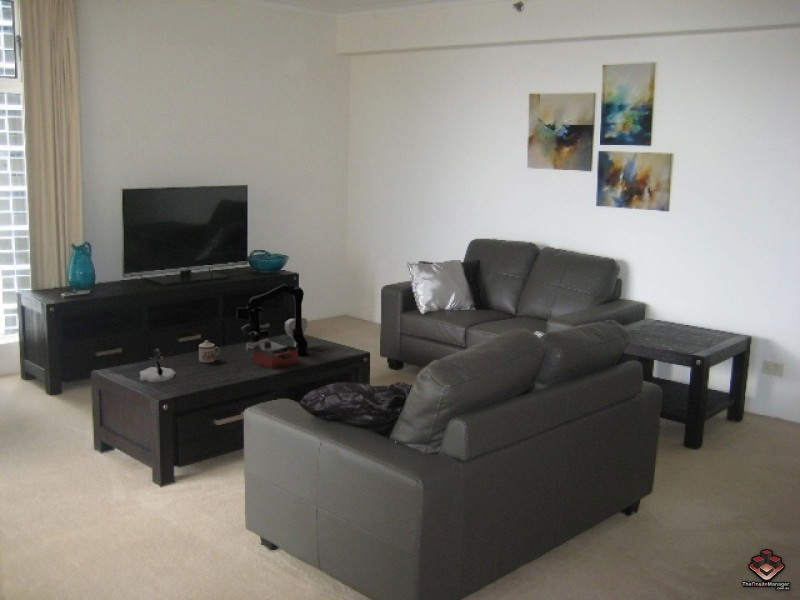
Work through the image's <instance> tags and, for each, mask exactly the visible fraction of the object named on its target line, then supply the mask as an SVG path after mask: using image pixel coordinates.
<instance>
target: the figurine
mask: <svg viewBox="0 0 800 600" xmlns="http://www.w3.org/2000/svg"><path fill="white" fill-rule="evenodd" d="M161 354H162V352H160V349H159V348H156V349H154V356H153V357H149V358H148V359H149V360H152V361H155V366H151V367H148V368H145V369H144V370H141V371H140V372H139V376H140V377H139V381H142V382H144V381H147V382H150V383H151V382H152V383H157V382H166V381H169V380H171V379H173V378H174V377H175V375H176V373H177V372H176V371H174V369H172V368H166V367H163V366H162V367H161V365H160V363H159V361H161V362H162V361H164V356H161Z"/></svg>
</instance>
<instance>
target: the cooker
mask: <svg viewBox="0 0 800 600" xmlns="http://www.w3.org/2000/svg"><path fill="white" fill-rule="evenodd" d="M277 343H278V344H281V345H285V346H288V348H286V349H282V350H278V351H273V352H268V351H265V350H261V349H258V348H254V350H253V363H254V364H256V365H259V366H263V367H266V368H269V369H272V370H273V369H278V368H280V367H285V366H289V365H292V364H296V363H299V355H298V348H297V347H294V345H290V344H286V343H283V342H277Z"/></svg>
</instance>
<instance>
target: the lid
mask: <svg viewBox="0 0 800 600" xmlns="http://www.w3.org/2000/svg"><path fill="white" fill-rule="evenodd" d="M278 343H279V342H274V341H272V340H271V341H270V339H269V338H265V339H261V340H260V339H259V341H256V342H253V341H251V342H248V343H246V344H245V345H246V347H245V350H246V351H247V352H248V351H254V348H258V349H261V350H265V351H268V352H273V351H278V350H282V349H286V348H288V346H285V345H281V344H278Z"/></svg>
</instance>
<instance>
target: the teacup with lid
mask: <svg viewBox="0 0 800 600" xmlns="http://www.w3.org/2000/svg"><path fill="white" fill-rule="evenodd" d="M216 349H217V352H216ZM220 351H221V350H220V348H219V347H218V346H216V345H215V343H212V342H210V341H209V340H204V341H203V342H202V343H200V344H199V345H198V361H199V362H200V363H204V364H209V363H213V362H215V361H216V356H218V355H219V353H220ZM215 352H216V353H215Z"/></svg>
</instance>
